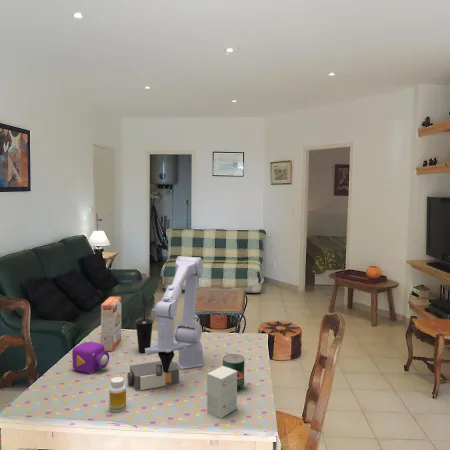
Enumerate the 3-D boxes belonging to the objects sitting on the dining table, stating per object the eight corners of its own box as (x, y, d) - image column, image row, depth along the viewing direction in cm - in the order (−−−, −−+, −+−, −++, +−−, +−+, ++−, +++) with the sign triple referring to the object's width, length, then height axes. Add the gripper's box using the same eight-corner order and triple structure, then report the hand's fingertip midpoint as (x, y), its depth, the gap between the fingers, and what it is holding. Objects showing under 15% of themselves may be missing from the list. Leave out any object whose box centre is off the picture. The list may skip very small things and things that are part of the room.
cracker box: (114, 351, 189) (113, 304, 187) (100, 351, 189) (99, 304, 187) (122, 340, 203) (122, 296, 201) (109, 339, 203) (108, 296, 201)
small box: (222, 402, 147) (223, 365, 146) (237, 408, 143) (237, 370, 142) (206, 411, 141) (206, 373, 140) (221, 418, 137) (221, 379, 135)
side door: (164, 384, 158) (164, 363, 158) (166, 387, 156) (166, 365, 156) (140, 389, 155) (140, 366, 154) (141, 392, 153) (141, 369, 152)
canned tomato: (240, 394, 153) (240, 364, 152) (219, 390, 155) (219, 360, 154) (246, 384, 160) (247, 355, 159) (226, 381, 163) (227, 352, 162)
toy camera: (101, 376, 165) (101, 351, 164) (69, 373, 168) (68, 347, 167) (114, 365, 176) (114, 341, 175) (83, 361, 178) (83, 338, 177)
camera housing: (171, 371, 170) (171, 359, 170) (179, 382, 161) (179, 369, 160) (125, 379, 163) (125, 366, 163) (131, 391, 154) (131, 377, 153)
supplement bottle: (128, 409, 142) (128, 380, 141) (112, 414, 139) (111, 384, 138) (122, 402, 146) (122, 374, 145) (106, 406, 143) (106, 378, 142)
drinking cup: (156, 350, 191) (156, 305, 189) (144, 356, 185) (144, 310, 183) (144, 346, 195) (143, 303, 193) (131, 352, 189) (131, 307, 187)
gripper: (148, 341, 149) (148, 379, 150) (188, 335, 155) (188, 372, 156) (143, 334, 155) (143, 371, 157) (182, 329, 161) (182, 364, 162)
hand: (165, 371), depth 157 cm, fingers closed
